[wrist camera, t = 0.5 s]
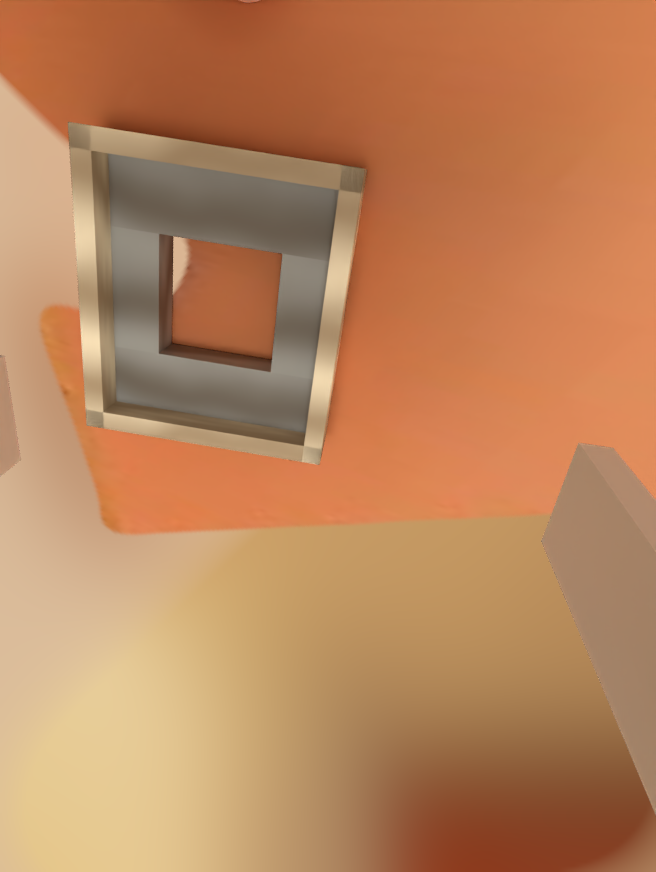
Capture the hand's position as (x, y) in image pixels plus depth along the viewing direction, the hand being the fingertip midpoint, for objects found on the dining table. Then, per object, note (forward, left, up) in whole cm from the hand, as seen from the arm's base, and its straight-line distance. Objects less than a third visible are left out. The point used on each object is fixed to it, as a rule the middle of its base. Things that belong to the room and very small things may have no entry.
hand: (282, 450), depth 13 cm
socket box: (+3, -8, -25) cm, 26 cm away
